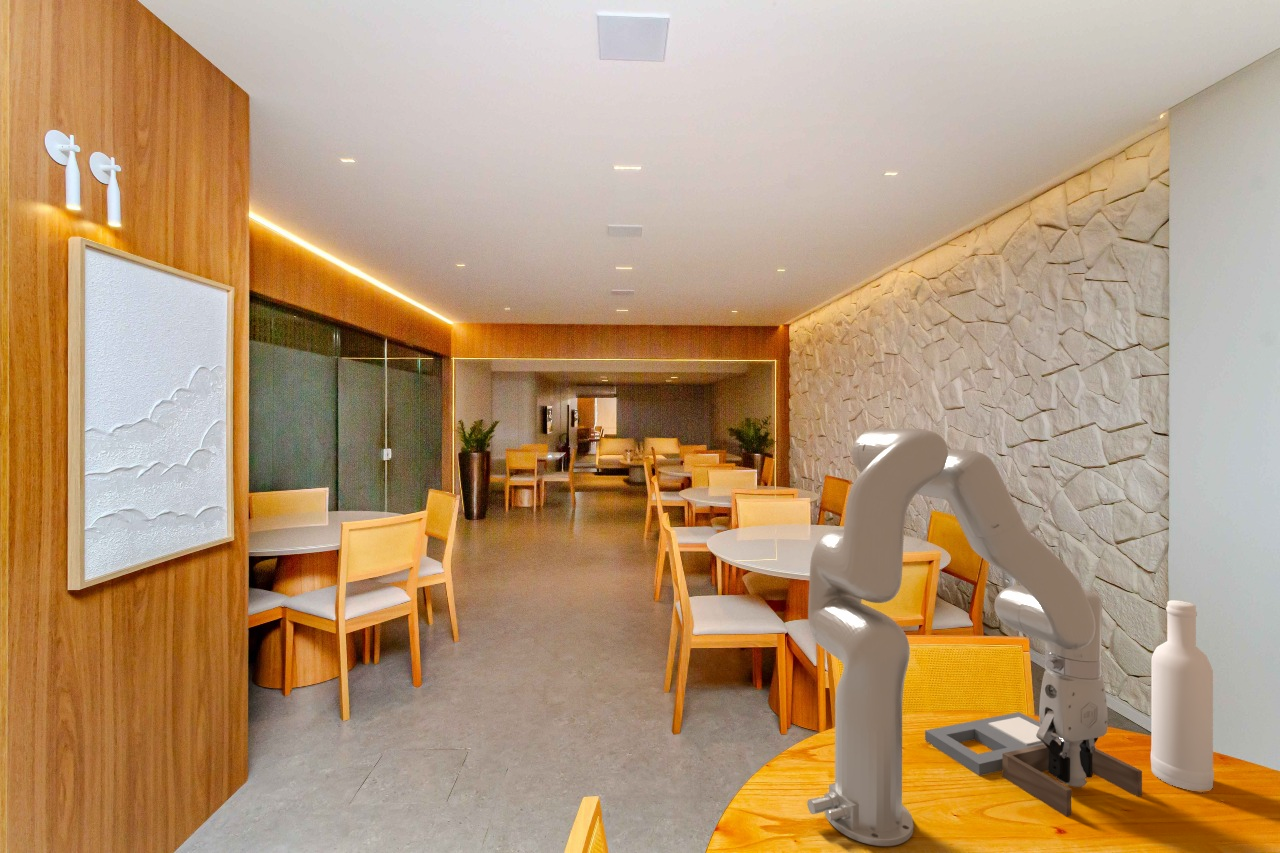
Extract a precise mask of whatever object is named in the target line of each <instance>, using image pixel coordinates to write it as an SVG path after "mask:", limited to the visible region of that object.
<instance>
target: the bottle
mask: <svg viewBox="0 0 1280 853" xmlns="http://www.w3.org/2000/svg"><path fill="white" fill-rule="evenodd" d="M1165 611H1166V612H1167V613H1166V617H1167V618H1166V619H1167V620H1166V621H1167V622H1166V624H1167V626H1166V628H1167V629H1166V630H1167V631H1166V635H1167V636H1166V641H1165V642H1162V643H1161V644H1159V645H1158V646H1156V648H1155V650H1154V651H1153V653H1152V656H1151V664H1150V665H1151V668H1150V669H1151V670H1150V672H1151V674H1150V675H1151V687H1150V688H1151V690H1150V691H1151V697H1150V698H1151V700H1150V701H1151V702H1150V703H1151V705H1150V706H1151V718H1150V721H1151V724H1150V725H1151V727H1150V728H1151V731H1150V732H1151V733H1150V734H1151V739H1150V740H1151V748H1150V750H1151V751H1150V763H1151V764H1150V766H1151V768H1150V770H1151V772H1152V774H1153V775H1154V776H1155V777H1156V778H1157V777H1158V778H1157V779H1159V780H1160V779H1161V780H1160V781H1162V782H1163V781H1164V783H1165V782H1166V784H1167V785H1170V786H1172V785H1173V786H1172V787H1174V786H1176V787H1175V788H1177V787H1180V788H1183V789H1187V790H1186V791H1188V790H1192V791H1207V790H1211V789H1212V788H1213V789H1214V779H1215V776H1214V775H1215V773H1214V757H1213V756H1214V672H1213V671H1214V670H1213V668H1212V665H1211V663H1210V661H1209V659H1208V656H1207V655H1206V654H1205V653H1204V652H1203V651H1202V650H1201V649H1200V648H1198V646H1197V645H1196V644H1197V642H1196V641H1197V636H1196V634H1197V625H1196V624H1197V619H1196V618H1197V616H1198V613H1197V607H1196V605H1195V604H1194V603H1193V602H1188V601H1184V600H1183V601H1182V600H1177V599H1175V600H1174V599H1172V600H1171V599H1170V600H1168V601H1167V604H1166V607H1165ZM1180 788H1179V789H1180ZM1183 789H1182V790H1183ZM1213 789H1212V790H1213ZM1212 790H1211V791H1212ZM1192 791H1191V792H1192Z"/></svg>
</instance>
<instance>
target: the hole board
mask: <svg viewBox="0 0 1280 853" xmlns="http://www.w3.org/2000/svg"><path fill="white" fill-rule="evenodd" d="M1039 728H1040V721H1038V720H1036V719H1034V718H1032V717H1030V716H1028V715H1025V714H1024V713H1022V712H1019V711H1018V712H1013V713H1008V714H1003V715H997V716H992V717H987V718H983V719H982V718H981V719H977V720H972V721H966V722H961V723H958V724H957V723H956V724H951V725H945V726H941V727H937V728H931V729H925V730H924V741H925V740H926V741H927V742H926V741H925V742H926V743H928V742H929V743H930V744H929V743H928V744H929V745H931V744H932V745H933V746H932V745H931V746H932V747H934V748H935V747H936V748H935V749H937V750H938V751H940V752H941V753H943V754H945V755H947V756H948V757H949V758H951V759H952V760H954V761H955V762H957V763H958V764H960V765H962V766H964V767H965V768H966V769H968V770H969V771H971V772H973V773H974V774H976V775H977V776H983V775H988V774H992V773H997V772H1000V771H1002V754H1003V753H1007V752H1011V751H1016V750H1020V749H1025V748H1029V747H1034V746H1038V745H1043V744H1044V743H1043V742H1042V741H1041V740H1040V739H1038V738H1037V737H1036V734H1037V732H1038V730H1039ZM1056 732H1057V731H1056ZM973 740H974V741H977V742H978V743H980V744H982V745H983V746H985V747H986V748H988V749H991V750H989V751H986V752H981V753H977V752H976V751H974V750H972V749H970V748H969V747H968V746H965V745H963V744H962V743H964V742H965V743H966V742H968V741H973ZM1055 741H1061V740H1060V739H1058V738H1056V740H1055Z"/></svg>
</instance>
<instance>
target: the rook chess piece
mask: <svg viewBox="0 0 1280 853" xmlns="http://www.w3.org/2000/svg"><path fill="white" fill-rule="evenodd" d="M1082 742H1083V741H1077V742H1070V743H1069V749H1068V754H1067V757H1069V758H1070V782H1067V783H1065V782H1064V781H1062V780H1060V779H1058V778H1057V777H1055V778H1056V780H1058V782H1060V783H1062V784H1063V785H1066V786H1067V785H1068V786H1070V787H1075V788H1082V787H1085V786H1086V785H1087V783H1088V781H1087V780H1086V778H1087V777H1086V774H1085V772H1084V771H1083V768H1082V766H1081V762H1080V751H1081V748H1080V746H1079V745H1080V744H1081V743H1082ZM1060 745H1061V743H1060Z"/></svg>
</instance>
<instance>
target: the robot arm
mask: <svg viewBox="0 0 1280 853" xmlns="http://www.w3.org/2000/svg"><path fill="white" fill-rule="evenodd" d="M851 459H852V463H853V465H854V466H855V468H856V469H857V471H858V472H859V473H860V474H858V476H857V478H856V480H854V483H853V484H852V486H851V488H850V490H849V493H848V496H847V499H846V500H847V501H846V505H845V514H844V522H843V523H844V524H843V529H834V530H831V531H828V532H827V533H825V534H824V535H823V536H822V537H820V538H819V539H818V541H817V542H816V544H815V546H814V549H813V551H812V555H811V557H810V566H809V581H808V582H809V585H808V586H809V587H808V588H809V589H808V606H807V607H808V609H807V610H808V611H807V612H808V613H807V615H808V617H807V618H808V628H809V632H810V633H811V634H810V635H811V636H812V637H813V640H814V641H815V642H816V643H817V645H819V646H820V647H821V648H822V649H823V650H825V651H826V652H828V653H829V654H830V655H831V656H833V657H835V658H836V659H837V660H838V661H840V662H841V663H842V665H843V666H842V667H843V669H842V673H841V675H840V678H839V680H838V683H837V687H836V689H835V690H836V691H835V702H834V709H835V710H834V711H835V714H834V716H835V717H834V718H835V720H834V721H835V723H834V727H835V728H834V738H835V739H834V742H835V744H834V751H835V752H834V756H835V757H834V782H833V783H829V784H828V792H826V793H825V794H823V796H821V797H814V798H811V799H807V801H806V802H807V803H806V804H807V809H808V812H809V813H810V814H811V815H816V814H817V815H818V814H820V813H825V817H826V819H827V821H828V822H829V823H830V824H831V825H832V826H833V827H834V828H835V829H836V830H837V831H838V832H840V834H843V835H844V836H846V837H848V838H849V839H852V840H854V841H857V842H859V843H862V844H865V845H869V846H876V847H893V846H898V845H901V844H903V843H906V842H907V841H908V840H909V839H911V838H912V836H913V833H914V819H913V816H912V814H911V813H910V811H909V810H908V809H907V807H906V806H904V805H903V697H904V686H905V680H906V674H907V670H908V666H909V662H910V654H911V652H910V651H911V650H910V642H909V640H908V637H907V635H906V633H905V631H904V629H903V628H902V627H901V626H900V624H898V623H897V622H896V621H895V620H894V619H893V618H891V617H890V616H889V615H886V614H885V613H883V612H881V611H879V610H877V609H875V608H873V607H870V606H869V605H867V604H865V603H863V602H862V600H863V601H866V602H869V603H875V604H883V603H887V602H889V601H891V600H893V599H895V597H896V596H897V595H898V594H899V592H900V588H901V586H902V580H903V579H902V578H903V563H904V562H903V561H904V558H903V557H904V538H905V535H904V533H905V523H906V517H907V516H906V515H907V510H908V508H909V505H910V504H911V502H912V500H913V499H914V498H915V496H916V495H919V496H923V497H928V498H933V499H941V500H945V501H946V502H947V503H948V504H949V507H950V508H951V511H952V512H953V514H954V516H955V519H956V520H957V522H958V524H959V526H960V528H961V530H962V532H963V534H964V536H965V538H966V541H967V542H968V544H969V546H970V548H971V550H973V551H974V552H975V553H976V554H977V555H978V556H979V557H981V559H984V561H986V562H988V563H989V564H990V565H992V566H994V567H995V568H997V569H998V570H1000V571H1001V572H1003V573H1005V574H1007V575H1008V576H1009V577H1011V579H1014V580H1015V581H1016V582H1017V583H1019V585H1011V586H1008V587H1006V588H1003V589H1002V590H1001V591H1000V592H999V593H998V594H997V596H995V599H994V608H993V609H994V612H995V614H996V616H997V618H998V619H999V620H1000V621H1001V622H1002V623H1003V624H1004V625H1006V626H1007V627H1009V628H1010V629H1013V630H1015V631H1017V632H1019V633H1022V634H1025V635H1027V636H1029V637H1032V638H1036V639H1038V640H1040V641H1043V642H1044V643H1045V644H1044V645H1045V649H1044V650H1045V651H1044V652H1045V654H1044V669H1045V670H1044V672H1043V677H1042V681H1041V686H1040V696H1039V706H1038V708H1039V710H1038V711H1039V712H1038V713H1039V715H1038V719H1039V721H1038V722H1040V728H1039V730H1038V732H1037V734H1036V737H1037V738H1038V739H1040V740H1041V741H1042V742H1043V743H1044V744H1045V745H1046V749H1047V750H1049V765H1048V771H1047V772H1048V773H1049V775H1051V776H1053V777H1055V778H1056V777H1057V778H1058V779H1060V780H1062V781H1064V782H1065V783H1067V782H1070V758H1069V757H1067V754H1068V749H1069V743H1070V742H1077V741H1083V742H1082V743H1081V744H1080V745H1079V746H1080V748H1081V751H1080V762H1081V766H1082V768H1083V771H1084V772H1085V774H1086V778H1088V779H1090V778H1092V777H1093V773H1092V756H1093V754H1092V753H1093V752H1094V751H1095V748H1096V742H1097V741H1098V739H1099V738H1101V737H1104V736H1105V735H1106V734H1107V732H1108V704H1107V702H1108V701H1107V692H1106V687H1105V686H1106V685H1105V681H1104V678H1103V675H1102V640H1103V639H1102V637H1103V636H1102V634H1103V603H1102V602H1103V601H1102V599H1101V598H1100V597H1099V595H1097V594H1096V593H1094V592H1092V591H1089V590H1086V589H1083V588H1082V585H1081V583H1080V582H1079V580H1078V578H1077V577H1076V576H1075V575H1074V573H1073V572H1072V571H1071V570H1070V569H1069V567H1068V566H1067V565H1065V563H1064V562H1063V561H1061V559H1060V558H1058V557H1057V556H1056V555H1055V554H1054V553H1053V552H1052V551H1051V550H1050V549H1049V548H1048V547H1047V546H1046V545H1045V544H1043V542H1041V541H1040V540H1039V539H1038V538H1037V537H1036V536H1034V535H1033V534H1032V533H1031V532H1030V531H1029V530H1028V528H1027V527H1026V525H1025V523H1024V521H1023V519H1022V517H1021V514H1020V512H1019V511H1018V509H1017V506H1015V503H1014V501H1013V499H1012V497H1011V494H1010V492H1009V490H1008V488H1007V486H1006V484H1005V482H1004V480H1003V478H1002V476H1001V474H1000V472H999V469H998V468H997V466H996V464H995V463H994V461H993V460H992V459H991V458H990V457H989V456H987V455H986V454H984V453H981V452H980V451H976V450H975V451H974V450H971V449H970V450H968V449H955V448H954V449H951V448H948V444H947V442H946V441H945V439H944V438H943V437H942V436H941V435H940V434H938V433H937V432H934V431H931V430H929V429H922V428H876V429H875V428H874V429H870V430H867V431H865V432H863V433H861V434H860V435H859V436H858V437H857V438H856V439H855V441H854V443H853V446H852V449H851ZM1056 731H1057V732H1056ZM1056 738H1058V739H1060V740H1061V745H1059V744H1058V743H1057V742H1056V741H1055V740H1056ZM1090 752H1091V753H1090ZM1057 778H1056V779H1057ZM1058 779H1057V780H1058Z"/></svg>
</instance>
